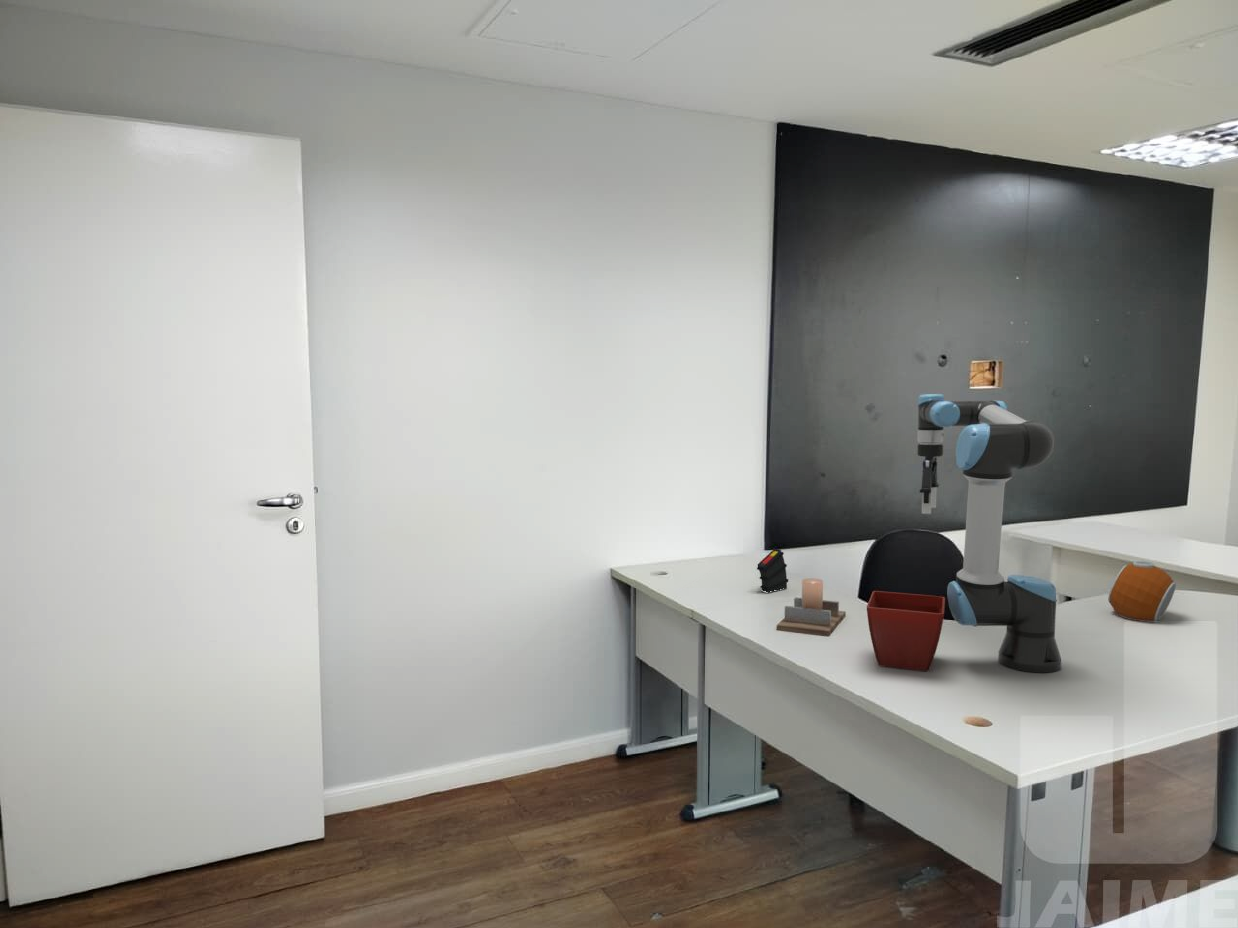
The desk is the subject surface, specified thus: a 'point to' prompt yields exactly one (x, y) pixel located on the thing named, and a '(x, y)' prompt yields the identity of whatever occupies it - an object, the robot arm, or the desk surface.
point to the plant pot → (905, 628)
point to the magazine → (773, 571)
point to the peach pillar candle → (812, 593)
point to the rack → (811, 618)
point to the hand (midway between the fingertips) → (928, 510)
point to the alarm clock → (1141, 592)
